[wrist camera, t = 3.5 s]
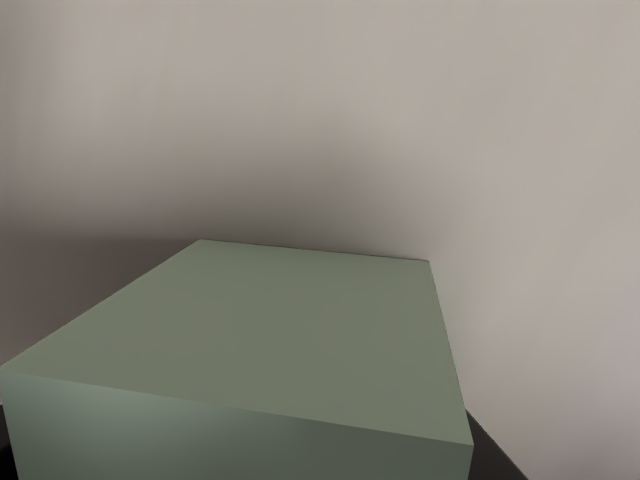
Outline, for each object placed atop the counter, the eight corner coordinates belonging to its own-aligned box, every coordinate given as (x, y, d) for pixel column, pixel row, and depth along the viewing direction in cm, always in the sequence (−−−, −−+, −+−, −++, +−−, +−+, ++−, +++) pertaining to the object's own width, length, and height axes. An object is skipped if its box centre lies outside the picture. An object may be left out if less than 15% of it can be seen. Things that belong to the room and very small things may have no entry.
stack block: (429, 260, 8) (474, 445, 4) (403, 456, 10) (413, 764, 5) (199, 239, 9) (-5, 370, 4) (207, 424, 11) (60, 668, 6)
